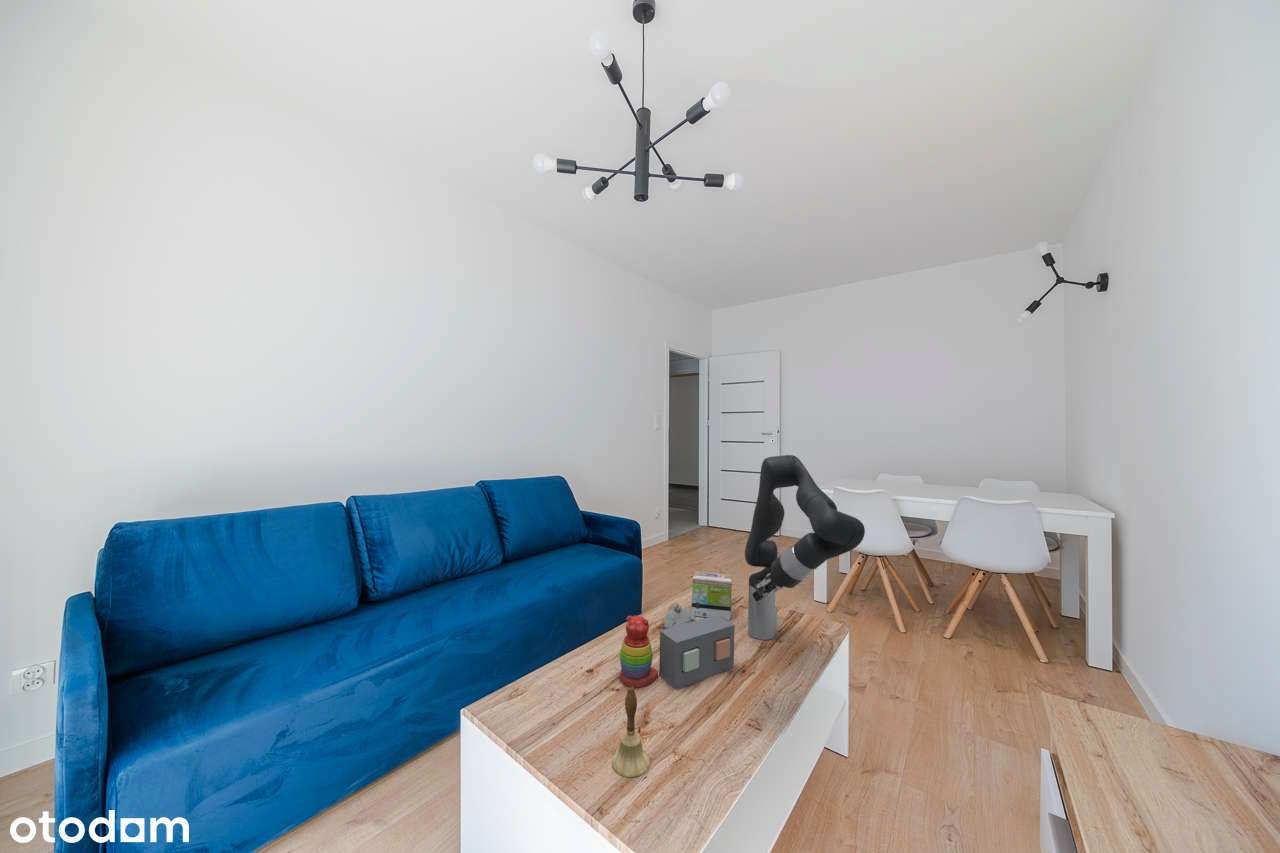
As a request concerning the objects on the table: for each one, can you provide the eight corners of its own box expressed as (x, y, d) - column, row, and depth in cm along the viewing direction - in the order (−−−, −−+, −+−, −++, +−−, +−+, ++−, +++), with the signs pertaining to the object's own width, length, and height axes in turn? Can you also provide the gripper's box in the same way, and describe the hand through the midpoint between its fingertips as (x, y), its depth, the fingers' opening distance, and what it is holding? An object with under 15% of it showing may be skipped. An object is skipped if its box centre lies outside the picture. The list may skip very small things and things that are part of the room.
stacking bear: (660, 674, 127) (661, 613, 127) (646, 692, 118) (647, 627, 118) (627, 664, 132) (628, 606, 132) (611, 682, 122) (612, 619, 123)
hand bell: (610, 777, 89) (611, 700, 89) (612, 747, 97) (614, 677, 98) (650, 778, 89) (652, 700, 89) (649, 748, 98) (650, 677, 98)
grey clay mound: (687, 646, 149) (684, 620, 146) (658, 636, 155) (654, 611, 153) (702, 624, 158) (699, 599, 156) (674, 616, 165) (671, 591, 162)
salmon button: (720, 650, 133) (721, 634, 133) (729, 656, 129) (730, 639, 129) (708, 654, 130) (708, 637, 130) (717, 660, 127) (717, 643, 127)
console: (715, 655, 138) (716, 614, 138) (733, 667, 131) (734, 624, 131) (659, 675, 126) (660, 630, 126) (675, 689, 120) (676, 642, 120)
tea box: (691, 617, 166) (692, 578, 166) (692, 606, 176) (693, 570, 176) (731, 620, 164) (731, 581, 164) (730, 609, 174) (730, 573, 174)
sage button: (690, 660, 126) (690, 643, 126) (698, 667, 123) (699, 649, 123) (676, 665, 124) (676, 647, 124) (684, 672, 120) (685, 654, 120)
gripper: (802, 548, 112) (765, 580, 122) (767, 555, 105) (730, 589, 115) (820, 574, 107) (779, 606, 118) (784, 584, 100) (745, 616, 111)
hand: (755, 597), depth 117 cm, fingers closed
